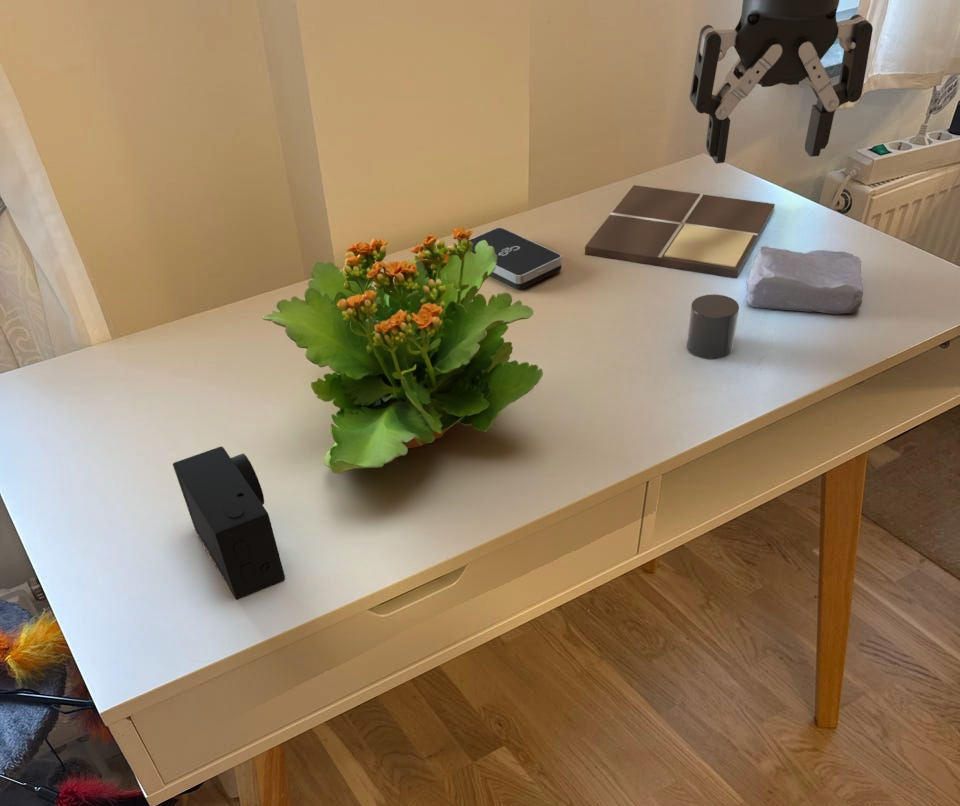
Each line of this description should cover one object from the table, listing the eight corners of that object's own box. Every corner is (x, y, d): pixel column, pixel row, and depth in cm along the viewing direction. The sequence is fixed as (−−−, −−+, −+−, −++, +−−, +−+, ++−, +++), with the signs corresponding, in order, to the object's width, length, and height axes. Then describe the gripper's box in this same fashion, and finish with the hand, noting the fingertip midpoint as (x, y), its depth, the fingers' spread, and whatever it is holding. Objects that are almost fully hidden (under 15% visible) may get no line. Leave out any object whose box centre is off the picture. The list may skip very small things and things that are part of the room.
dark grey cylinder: (737, 339, 99) (744, 298, 95) (725, 362, 96) (732, 320, 93) (693, 331, 100) (698, 291, 97) (680, 354, 97) (685, 312, 94)
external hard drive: (500, 242, 116) (499, 226, 115) (564, 273, 110) (564, 256, 109) (456, 262, 113) (455, 245, 112) (519, 294, 107) (519, 277, 106)
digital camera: (300, 575, 78) (283, 507, 73) (236, 600, 76) (215, 533, 71) (254, 506, 84) (235, 439, 79) (194, 528, 82) (171, 461, 77)
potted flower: (241, 398, 95) (194, 223, 83) (443, 323, 104) (430, 153, 91) (361, 533, 81) (327, 345, 68) (585, 432, 89) (593, 248, 76)
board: (773, 211, 118) (775, 202, 117) (736, 278, 107) (738, 268, 107) (633, 192, 124) (633, 183, 123) (584, 254, 113) (584, 244, 112)
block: (745, 283, 110) (742, 309, 102) (753, 238, 107) (752, 262, 99) (852, 295, 108) (858, 322, 100) (864, 250, 105) (872, 275, 97)
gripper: (721, -44, 72) (695, 180, 84) (910, -58, 72) (857, 167, 84) (698, -67, 77) (677, 147, 89) (874, -80, 77) (829, 135, 89)
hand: (764, 156), depth 86 cm, fingers open, 8 cm apart
